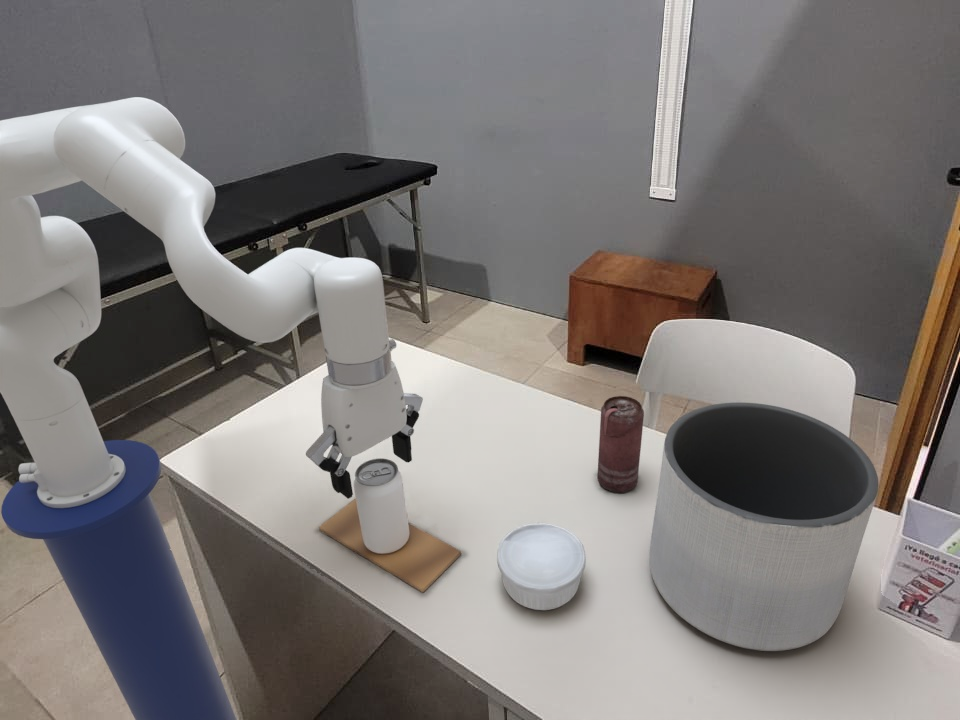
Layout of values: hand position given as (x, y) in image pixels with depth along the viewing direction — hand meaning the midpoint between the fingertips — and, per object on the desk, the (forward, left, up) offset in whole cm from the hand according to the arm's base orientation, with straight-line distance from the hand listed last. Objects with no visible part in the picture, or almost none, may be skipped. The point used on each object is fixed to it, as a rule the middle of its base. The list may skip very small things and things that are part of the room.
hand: (374, 474), depth 86 cm
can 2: (+35, +8, -12) cm, 38 cm away
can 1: (0, 0, -12) cm, 12 cm away
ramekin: (+20, -10, -12) cm, 26 cm away
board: (0, 0, -12) cm, 12 cm away
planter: (+45, -13, -12) cm, 49 cm away
